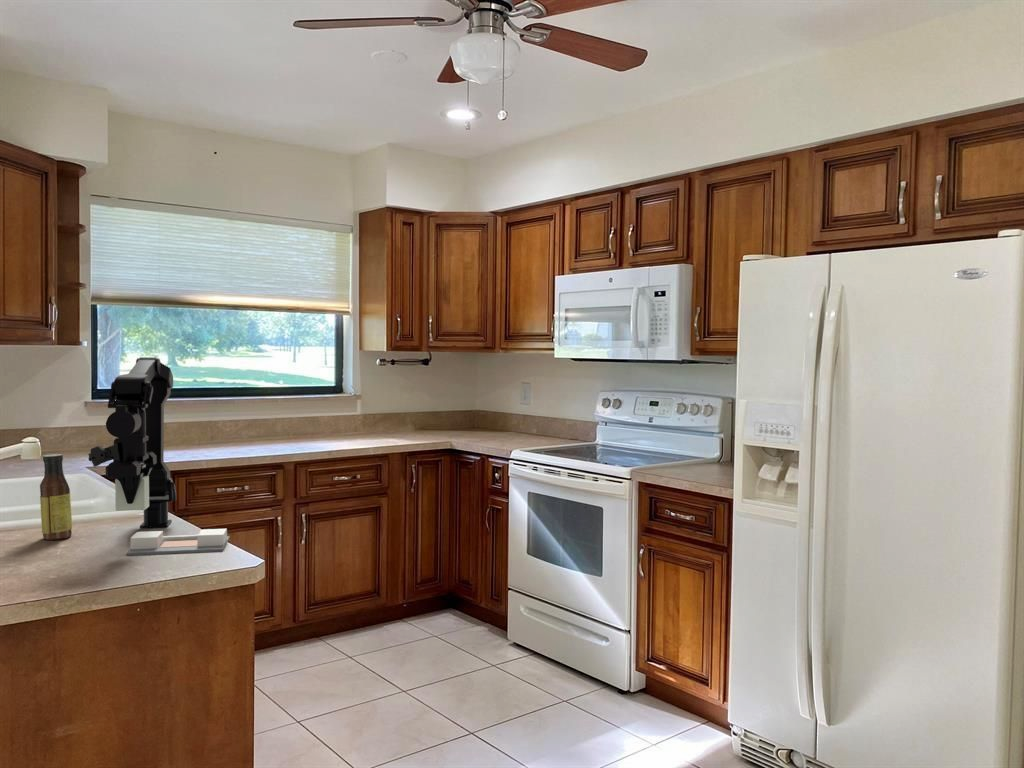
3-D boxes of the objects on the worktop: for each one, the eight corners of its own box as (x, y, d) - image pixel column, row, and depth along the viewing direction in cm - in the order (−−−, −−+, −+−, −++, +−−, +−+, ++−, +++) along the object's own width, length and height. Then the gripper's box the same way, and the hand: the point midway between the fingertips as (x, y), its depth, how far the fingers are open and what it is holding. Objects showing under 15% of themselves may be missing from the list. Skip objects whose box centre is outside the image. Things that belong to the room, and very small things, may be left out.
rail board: (139, 542, 185) (139, 529, 185) (229, 538, 189) (229, 525, 189) (126, 555, 173) (126, 541, 173) (222, 551, 178) (222, 537, 177)
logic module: (120, 507, 179) (120, 476, 179) (149, 506, 180) (148, 475, 180) (115, 510, 175) (115, 479, 175) (144, 510, 176) (144, 478, 176)
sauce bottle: (77, 534, 191) (76, 453, 190) (63, 541, 185) (62, 456, 184) (49, 534, 191) (48, 452, 190) (35, 540, 185) (33, 456, 184)
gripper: (105, 428, 184) (106, 494, 185) (78, 438, 166) (79, 511, 167) (156, 428, 186) (157, 493, 187) (135, 437, 168) (136, 510, 169)
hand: (132, 501), depth 177 cm, fingers closed on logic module, 4 cm apart
